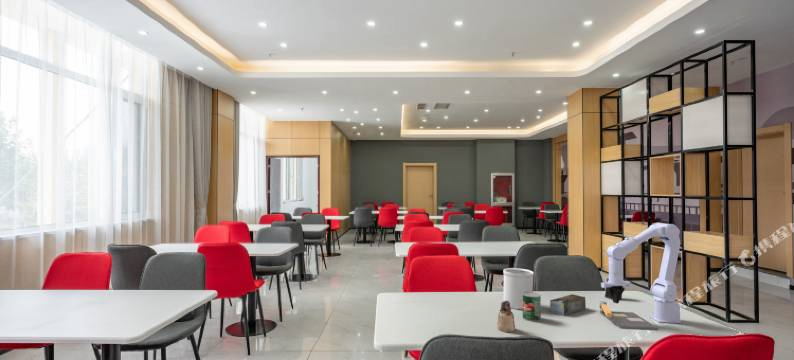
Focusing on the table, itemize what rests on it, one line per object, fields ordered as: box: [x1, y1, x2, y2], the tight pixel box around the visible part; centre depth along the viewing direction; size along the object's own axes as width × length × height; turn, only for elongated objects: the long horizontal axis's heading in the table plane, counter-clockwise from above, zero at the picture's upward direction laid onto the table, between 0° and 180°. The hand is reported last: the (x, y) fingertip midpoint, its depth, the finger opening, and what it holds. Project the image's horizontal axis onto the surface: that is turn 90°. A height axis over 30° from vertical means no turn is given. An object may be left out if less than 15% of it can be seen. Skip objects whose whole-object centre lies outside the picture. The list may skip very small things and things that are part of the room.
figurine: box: [496, 300, 516, 333], centre depth 169 cm, size 7×7×12 cm
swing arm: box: [599, 301, 612, 317], centre depth 186 cm, size 18×3×3 cm, turn 162°
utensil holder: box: [502, 267, 535, 310], centre depth 204 cm, size 15×15×18 cm
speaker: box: [604, 277, 624, 300], centre depth 220 cm, size 8×6×10 cm
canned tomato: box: [522, 292, 542, 322], centre depth 184 cm, size 8×8×11 cm
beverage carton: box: [549, 293, 587, 316], centre depth 197 cm, size 8×19×7 cm, turn 125°
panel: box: [599, 307, 658, 331], centre depth 183 cm, size 15×21×2 cm
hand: (615, 302), depth 183 cm, fingers closed
